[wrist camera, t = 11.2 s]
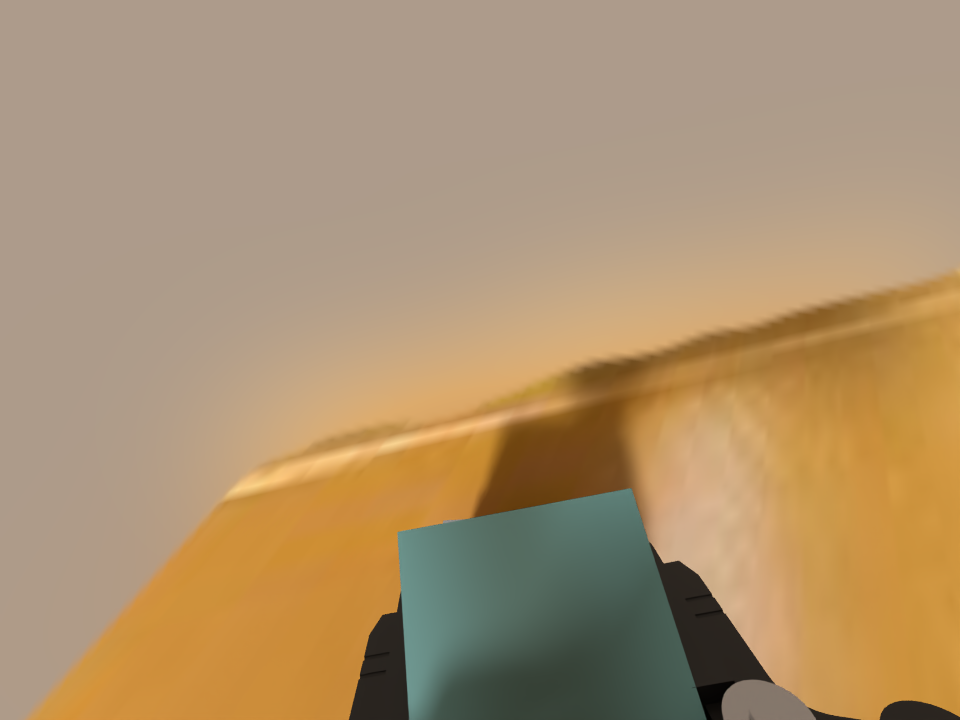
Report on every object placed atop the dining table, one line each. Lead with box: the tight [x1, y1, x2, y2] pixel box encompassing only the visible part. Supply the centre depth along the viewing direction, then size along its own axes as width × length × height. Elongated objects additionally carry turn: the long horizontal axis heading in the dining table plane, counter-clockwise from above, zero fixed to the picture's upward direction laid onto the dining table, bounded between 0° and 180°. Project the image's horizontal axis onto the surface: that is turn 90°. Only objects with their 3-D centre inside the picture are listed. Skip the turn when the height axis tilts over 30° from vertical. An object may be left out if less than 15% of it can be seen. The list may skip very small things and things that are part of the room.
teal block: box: [398, 488, 706, 720], centre depth 11 cm, size 5×5×8 cm
